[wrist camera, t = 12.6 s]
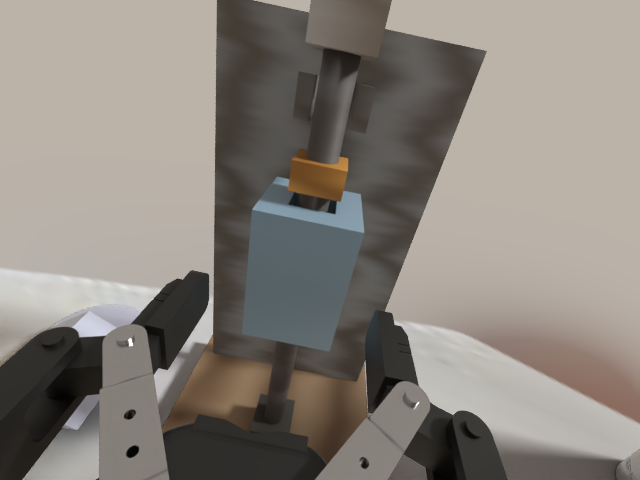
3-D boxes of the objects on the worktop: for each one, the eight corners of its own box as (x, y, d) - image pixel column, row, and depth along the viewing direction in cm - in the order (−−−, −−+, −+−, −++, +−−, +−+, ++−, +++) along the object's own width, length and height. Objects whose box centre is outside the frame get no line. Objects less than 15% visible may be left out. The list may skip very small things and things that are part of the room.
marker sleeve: (333, 294, 22) (360, 194, 18) (329, 351, 17) (364, 233, 13) (264, 280, 22) (276, 176, 18) (241, 333, 17) (252, 209, 13)
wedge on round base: (86, 452, 24) (165, 332, 35) (67, 404, 21) (161, 289, 32) (-29, 436, 24) (89, 319, 35) (-67, 385, 20) (76, 274, 32)
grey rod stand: (360, 375, 35) (500, 20, 18) (367, 569, 21) (987, -174, 4) (213, 345, 35) (217, -41, 18) (122, 521, 21) (-230, -453, 4)
